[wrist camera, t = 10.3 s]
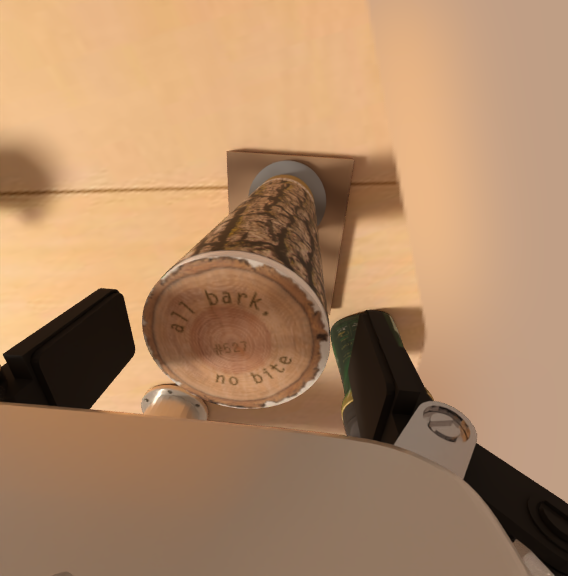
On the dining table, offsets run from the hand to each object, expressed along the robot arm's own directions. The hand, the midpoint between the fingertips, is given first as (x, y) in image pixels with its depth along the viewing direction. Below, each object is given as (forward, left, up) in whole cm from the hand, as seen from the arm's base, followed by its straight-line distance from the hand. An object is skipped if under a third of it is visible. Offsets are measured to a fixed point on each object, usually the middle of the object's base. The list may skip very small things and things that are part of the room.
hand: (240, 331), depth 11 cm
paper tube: (0, 0, -24) cm, 24 cm away
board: (-5, 0, -26) cm, 27 cm away
